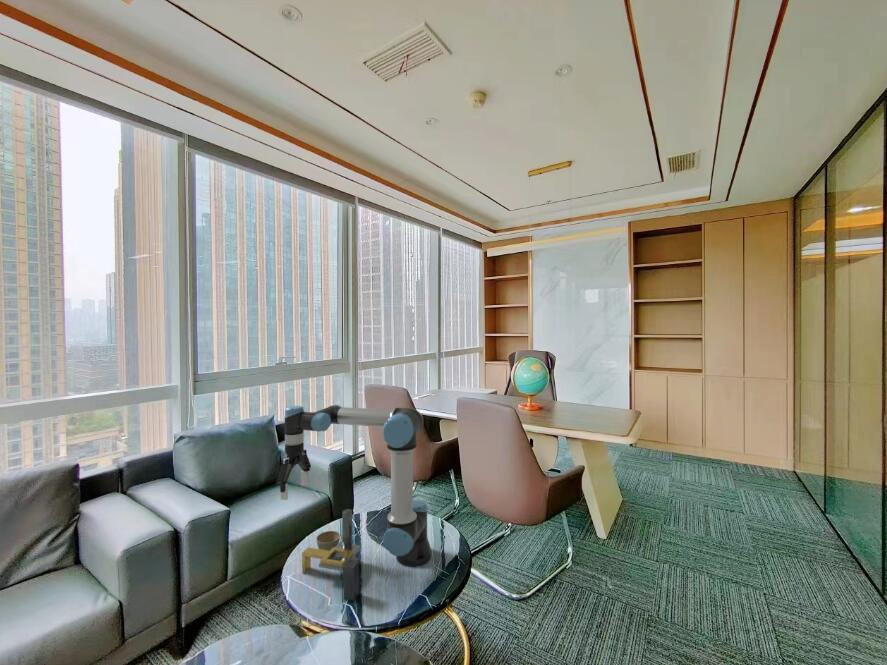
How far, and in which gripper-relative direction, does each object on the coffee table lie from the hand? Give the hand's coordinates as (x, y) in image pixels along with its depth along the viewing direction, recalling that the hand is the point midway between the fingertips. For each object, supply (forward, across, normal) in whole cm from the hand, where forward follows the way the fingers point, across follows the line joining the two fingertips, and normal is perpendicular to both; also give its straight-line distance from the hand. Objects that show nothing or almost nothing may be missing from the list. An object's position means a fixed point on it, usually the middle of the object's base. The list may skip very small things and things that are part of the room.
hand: (294, 492), depth 163 cm
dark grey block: (+28, +16, +35) cm, 48 cm away
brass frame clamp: (+28, +3, +19) cm, 34 cm away
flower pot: (+28, -6, +12) cm, 31 cm away
